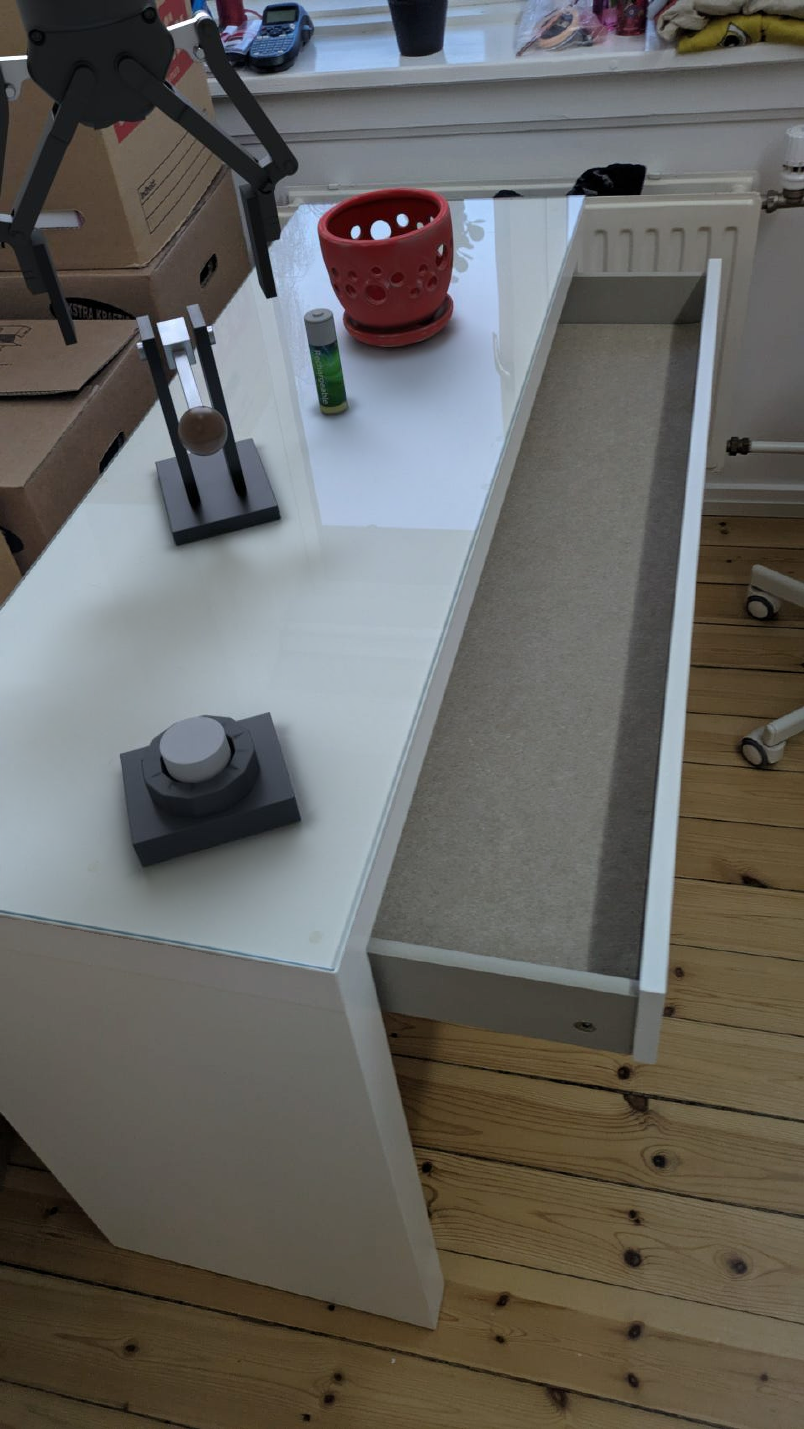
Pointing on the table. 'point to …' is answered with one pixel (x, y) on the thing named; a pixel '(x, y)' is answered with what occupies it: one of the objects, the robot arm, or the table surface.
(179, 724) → the flush button
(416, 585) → the table surface
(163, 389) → the lever bracket
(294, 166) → the robot arm
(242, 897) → the table surface
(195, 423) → the flush lever
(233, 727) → the button housing
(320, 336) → the battery
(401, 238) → the flower pot
